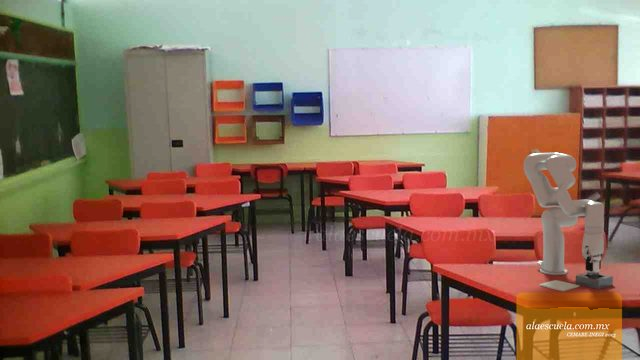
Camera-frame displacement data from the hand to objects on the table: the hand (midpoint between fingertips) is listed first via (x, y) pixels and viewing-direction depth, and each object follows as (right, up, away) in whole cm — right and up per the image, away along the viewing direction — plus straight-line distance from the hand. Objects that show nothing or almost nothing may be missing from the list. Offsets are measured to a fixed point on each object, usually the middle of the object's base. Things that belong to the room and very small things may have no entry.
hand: (593, 269), depth 267 cm
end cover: (0, -4, 0) cm, 4 cm away
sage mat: (-15, -8, 0) cm, 17 cm away
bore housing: (+1, -7, +1) cm, 7 cm away
